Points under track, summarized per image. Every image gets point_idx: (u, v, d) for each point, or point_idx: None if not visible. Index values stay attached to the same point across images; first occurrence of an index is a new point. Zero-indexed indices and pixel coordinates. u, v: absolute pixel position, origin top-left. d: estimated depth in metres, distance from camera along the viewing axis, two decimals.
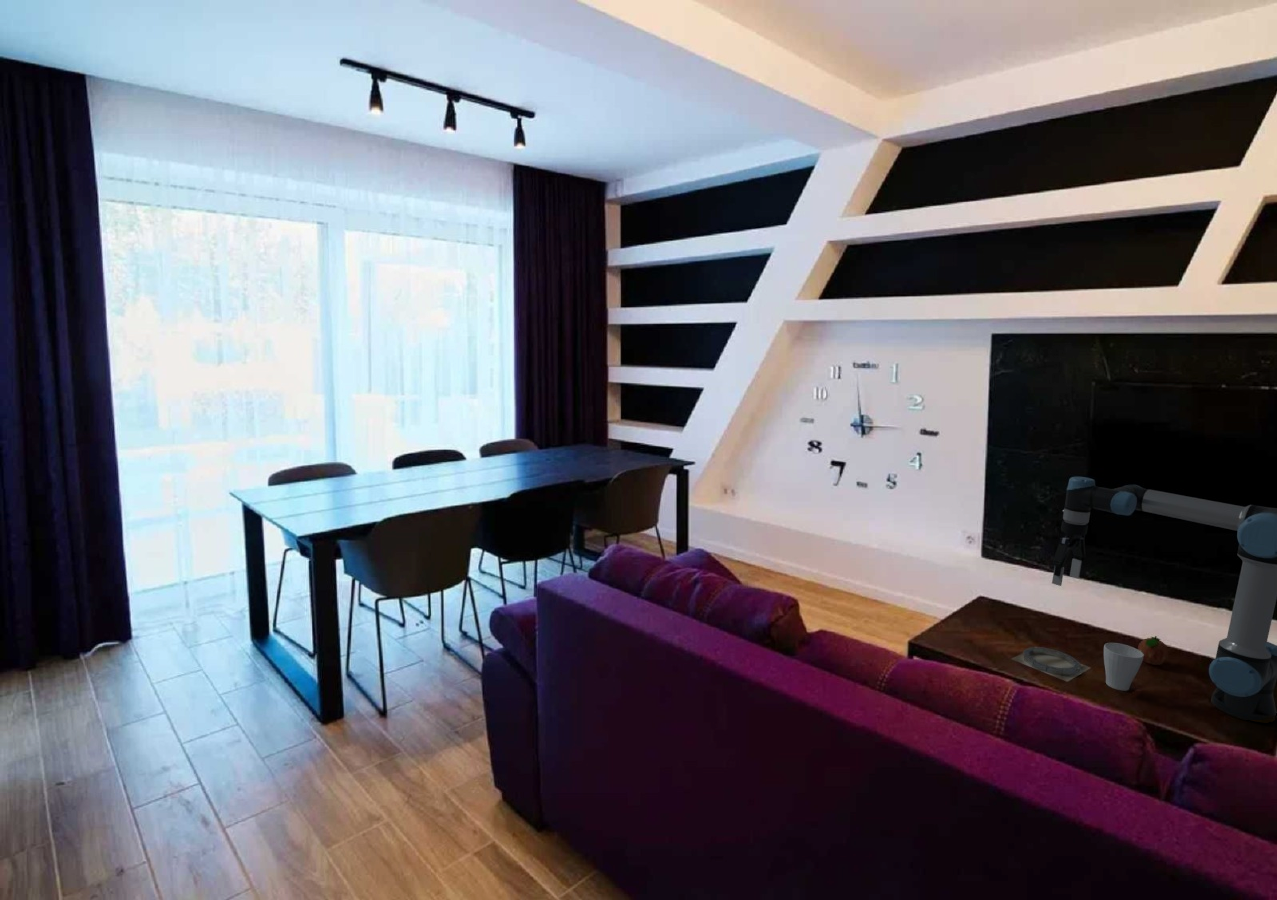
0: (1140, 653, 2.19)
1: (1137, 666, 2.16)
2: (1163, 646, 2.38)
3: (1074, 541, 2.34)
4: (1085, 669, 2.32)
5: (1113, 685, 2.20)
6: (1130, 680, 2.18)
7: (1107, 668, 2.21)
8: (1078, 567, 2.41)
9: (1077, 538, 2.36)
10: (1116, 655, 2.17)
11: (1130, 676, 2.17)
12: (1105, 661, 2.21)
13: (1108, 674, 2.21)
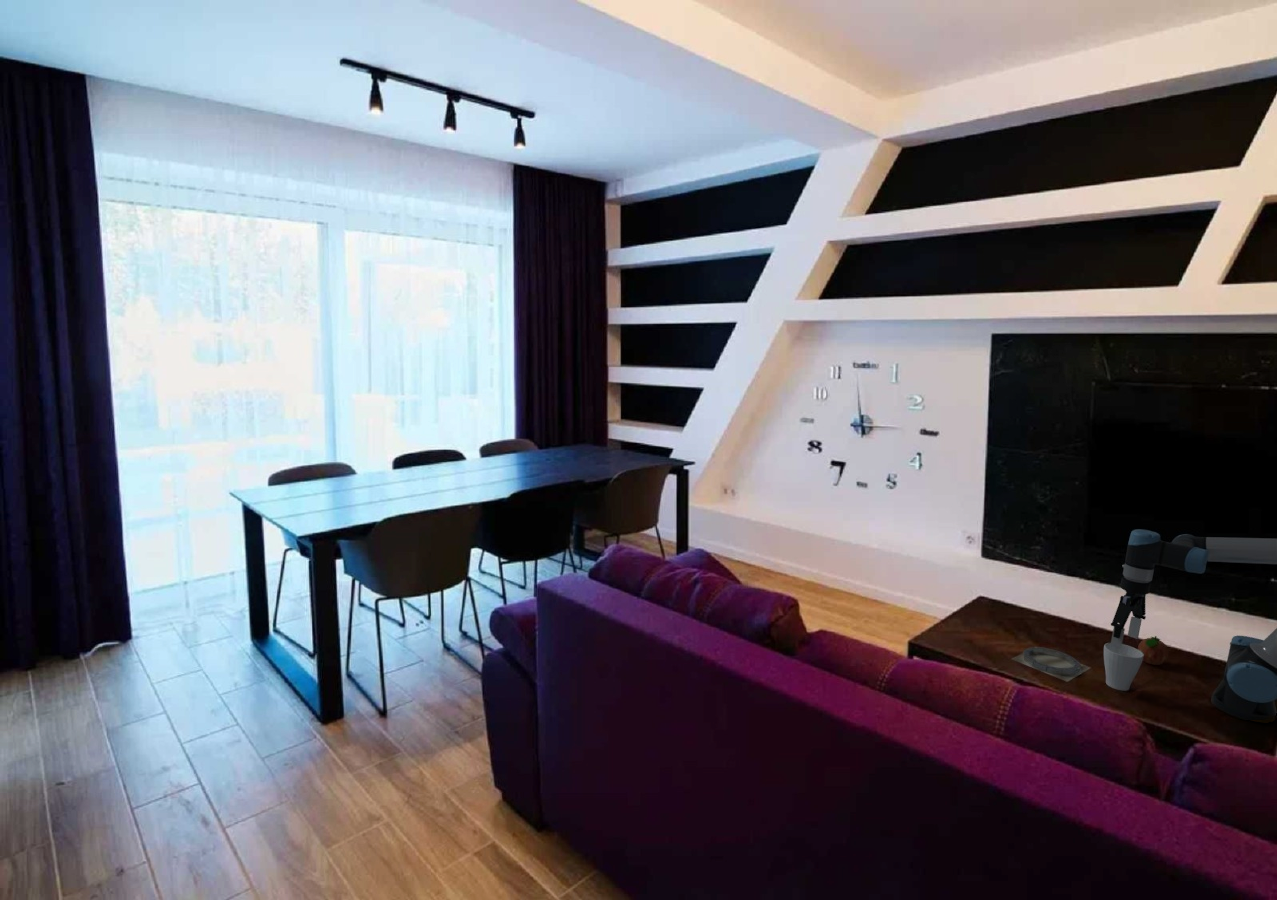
0: (1140, 653, 2.19)
1: (1137, 666, 2.16)
2: (1163, 646, 2.38)
3: (1136, 600, 2.14)
4: (1085, 669, 2.32)
5: (1113, 685, 2.20)
6: (1130, 680, 2.18)
7: (1107, 668, 2.21)
8: (1137, 626, 2.22)
9: (1138, 596, 2.16)
10: (1116, 655, 2.17)
11: (1130, 676, 2.17)
12: (1105, 661, 2.21)
13: (1108, 674, 2.21)
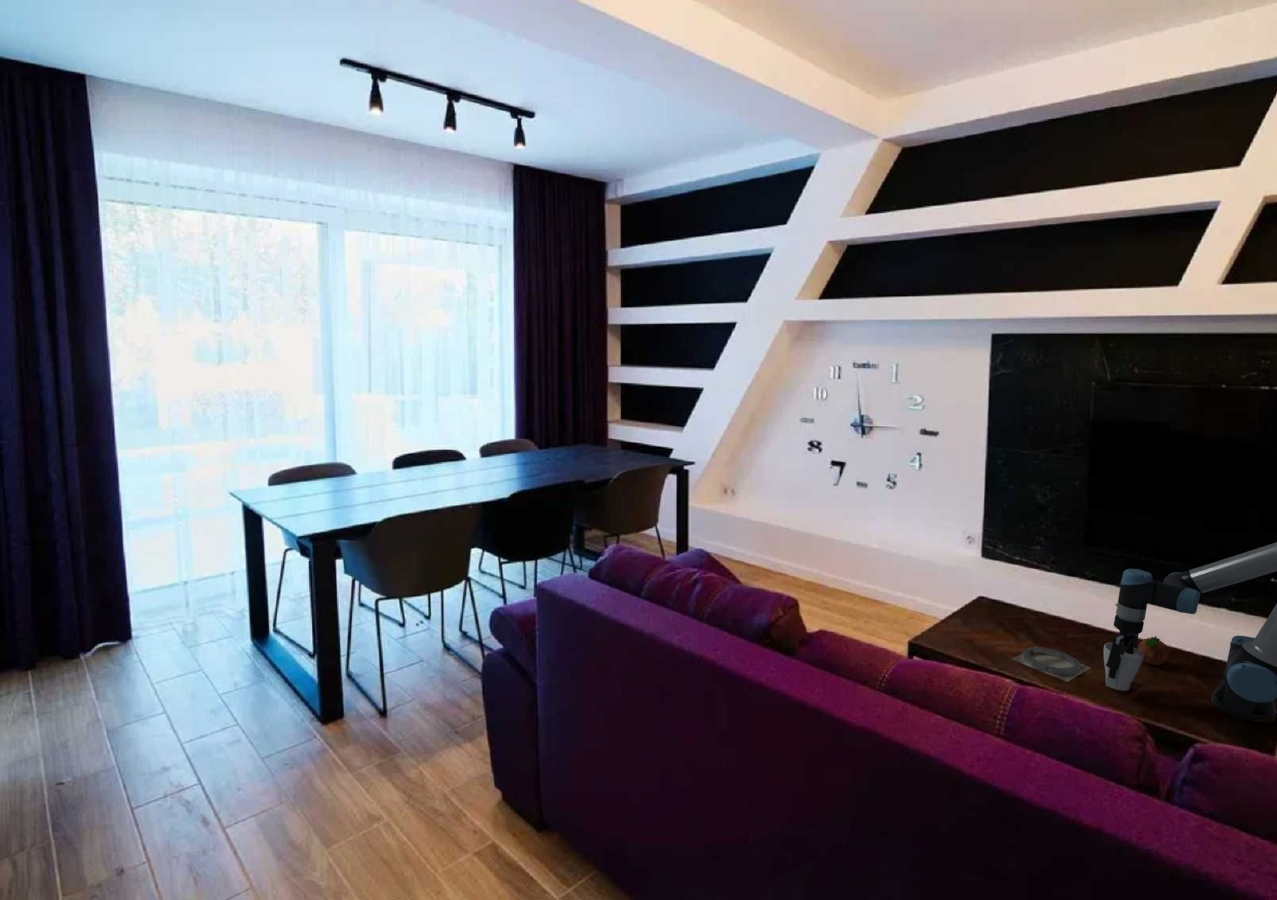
0: (1140, 653, 2.19)
1: (1137, 666, 2.16)
2: (1163, 646, 2.38)
3: (1129, 639, 2.17)
4: (1085, 669, 2.32)
5: None
6: (1130, 680, 2.18)
7: (1107, 668, 2.21)
8: None
9: (1132, 634, 2.19)
10: None
11: (1130, 676, 2.17)
12: (1105, 661, 2.21)
13: None
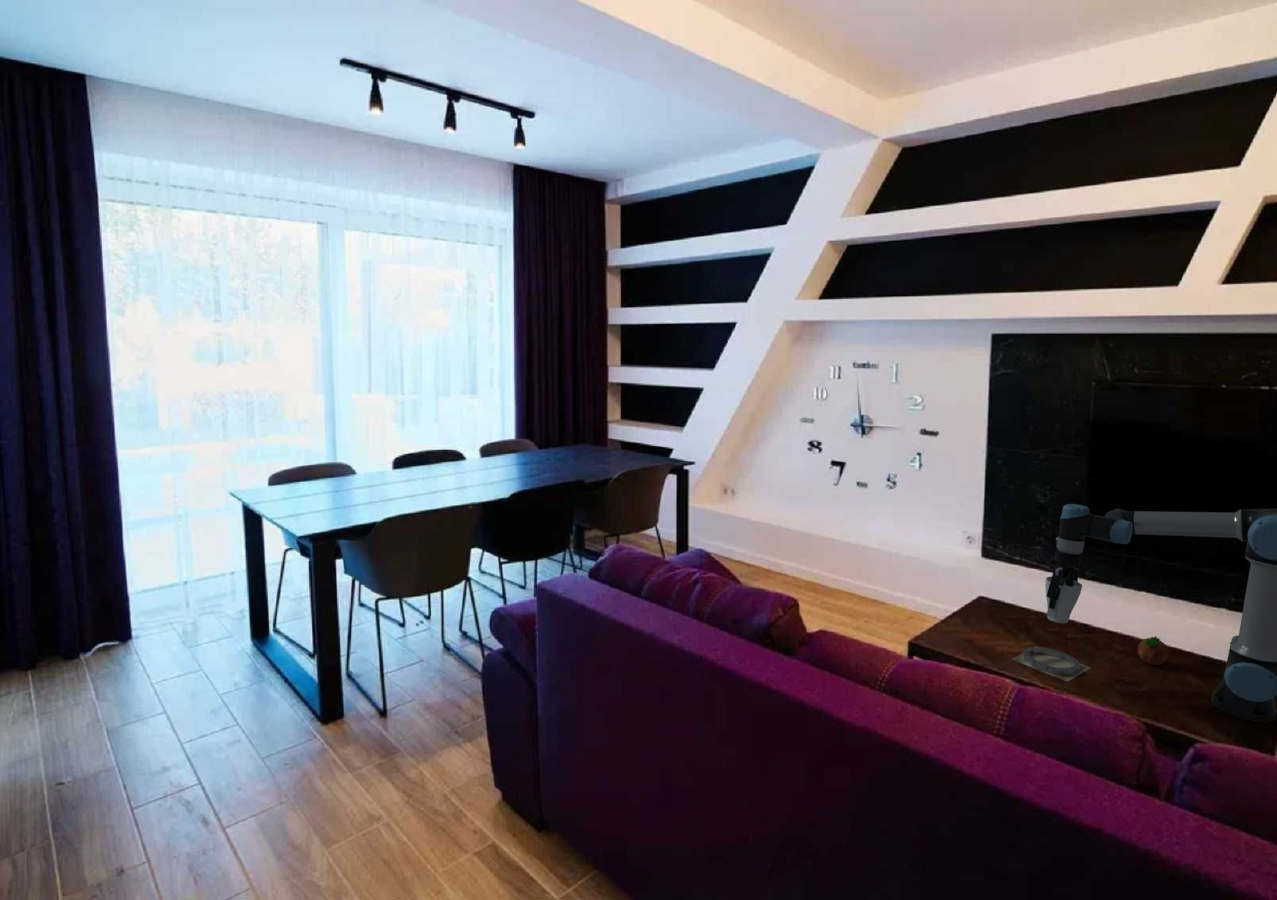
0: (1079, 585, 2.29)
1: (1075, 596, 2.26)
2: (1163, 646, 2.38)
3: (1068, 571, 2.27)
4: (1085, 669, 2.32)
5: None
6: (1069, 610, 2.28)
7: (1048, 599, 2.31)
8: None
9: (1071, 566, 2.29)
10: None
11: (1069, 606, 2.27)
12: (1046, 593, 2.32)
13: None
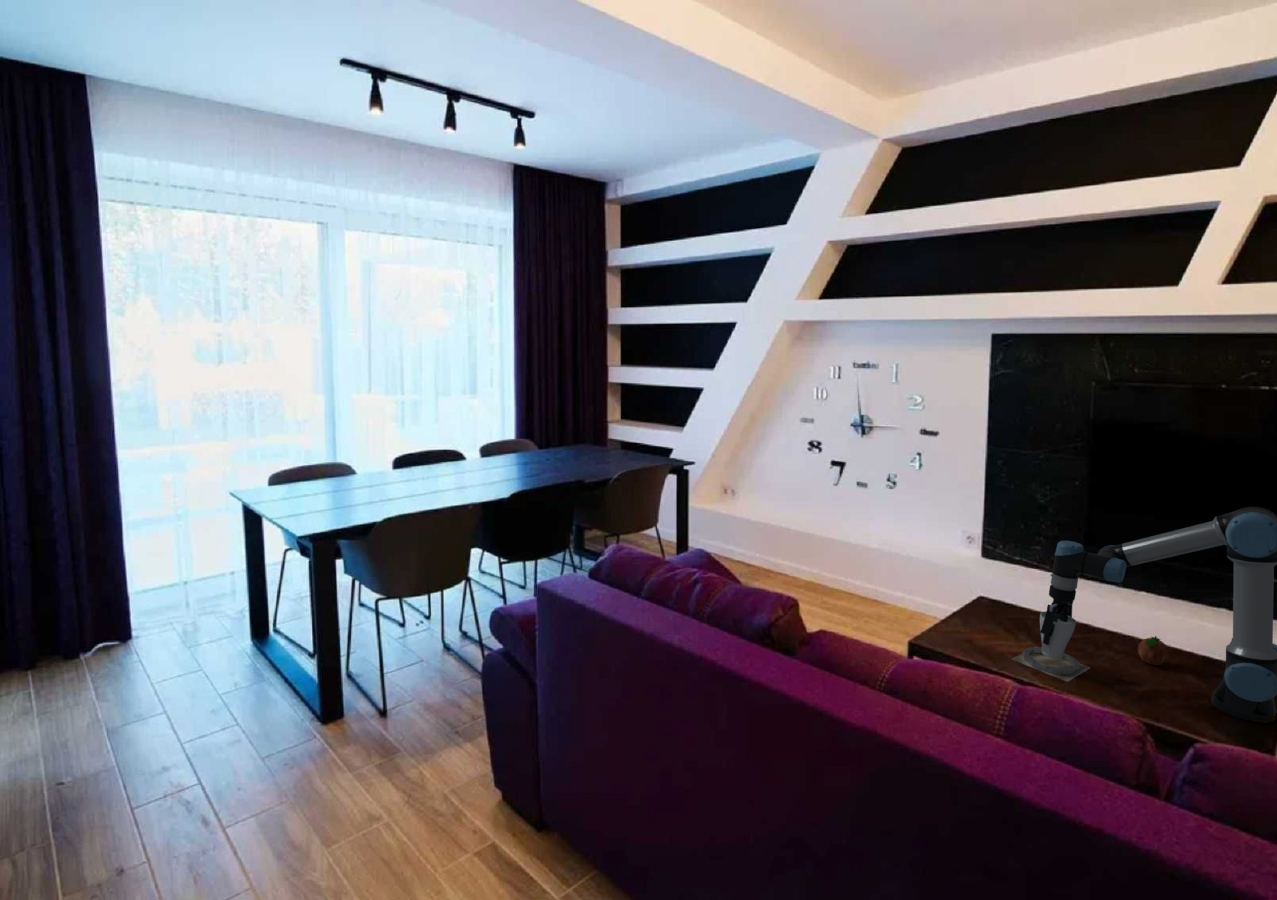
0: (1073, 620, 2.32)
1: (1069, 632, 2.28)
2: (1163, 646, 2.38)
3: (1062, 607, 2.29)
4: (1085, 669, 2.32)
5: None
6: (1063, 646, 2.31)
7: (1042, 635, 2.33)
8: None
9: (1065, 602, 2.31)
10: None
11: (1063, 642, 2.30)
12: (1041, 628, 2.34)
13: None
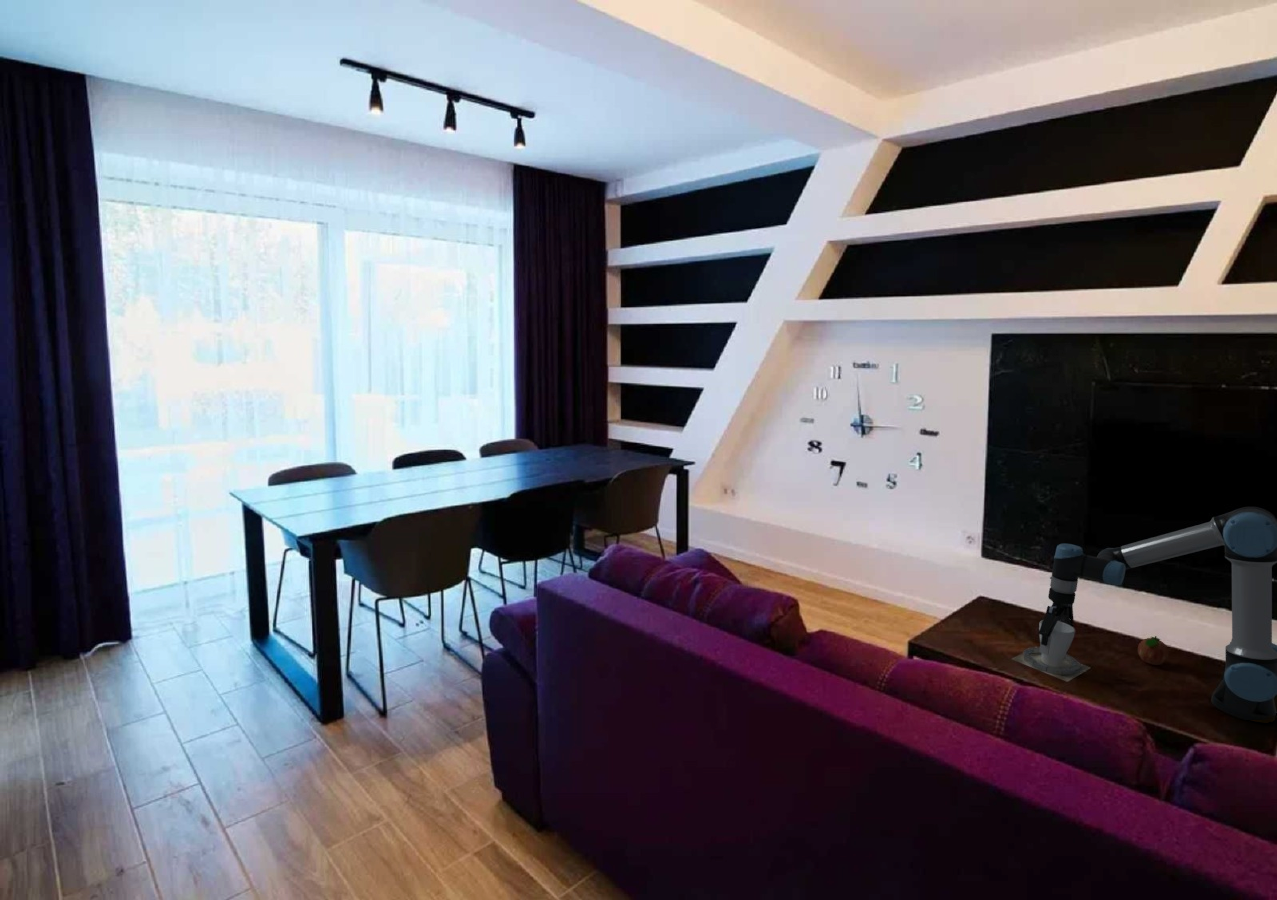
0: (1072, 629, 2.32)
1: (1069, 641, 2.29)
2: (1163, 646, 2.38)
3: (1061, 610, 2.29)
4: (1085, 669, 2.32)
5: (1047, 659, 2.33)
6: (1063, 654, 2.31)
7: None
8: None
9: (1065, 606, 2.31)
10: None
11: (1062, 650, 2.30)
12: (1040, 637, 2.35)
13: None
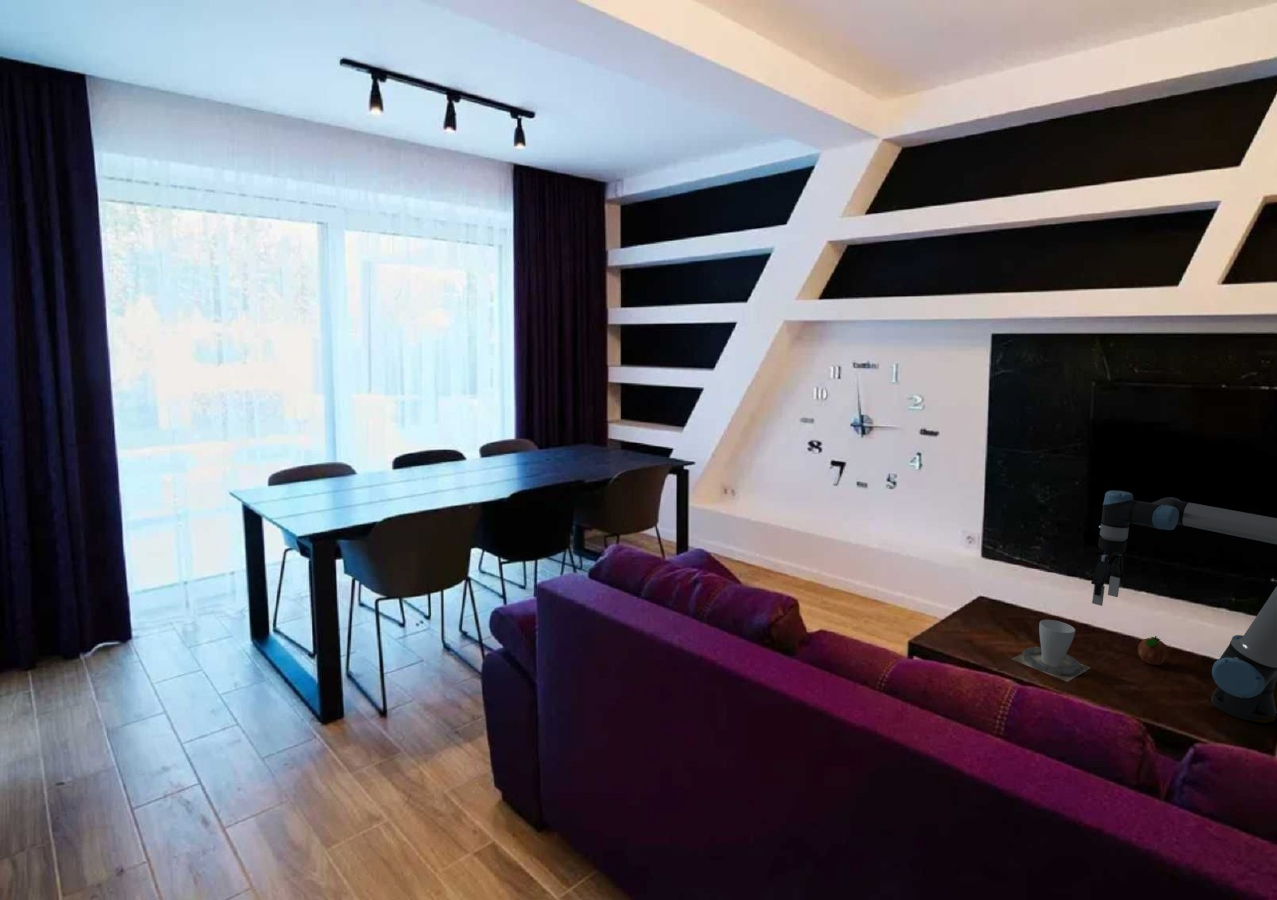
0: (1072, 629, 2.32)
1: (1069, 641, 2.29)
2: (1163, 646, 2.38)
3: (1113, 558, 2.23)
4: (1085, 669, 2.32)
5: (1047, 659, 2.33)
6: (1063, 654, 2.31)
7: (1042, 643, 2.34)
8: (1117, 585, 2.31)
9: (1116, 555, 2.25)
10: (1049, 631, 2.30)
11: (1062, 650, 2.30)
12: (1040, 637, 2.35)
13: (1043, 649, 2.34)
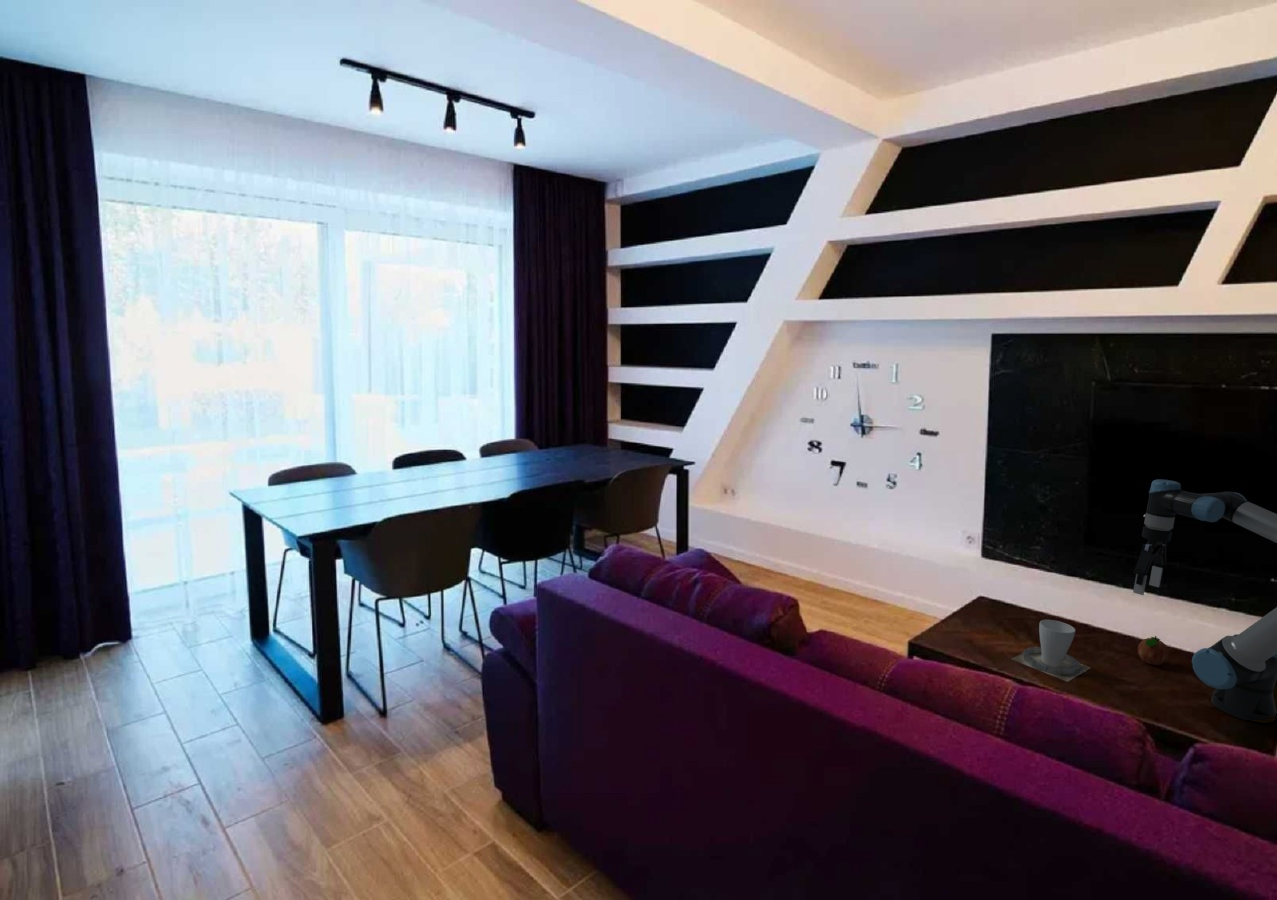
0: (1072, 629, 2.32)
1: (1069, 641, 2.29)
2: (1163, 646, 2.38)
3: (1157, 548, 2.21)
4: (1085, 669, 2.32)
5: (1047, 659, 2.33)
6: (1063, 654, 2.31)
7: (1042, 643, 2.34)
8: (1159, 575, 2.28)
9: (1160, 544, 2.23)
10: (1049, 631, 2.30)
11: (1062, 650, 2.30)
12: (1040, 637, 2.35)
13: (1043, 649, 2.34)
